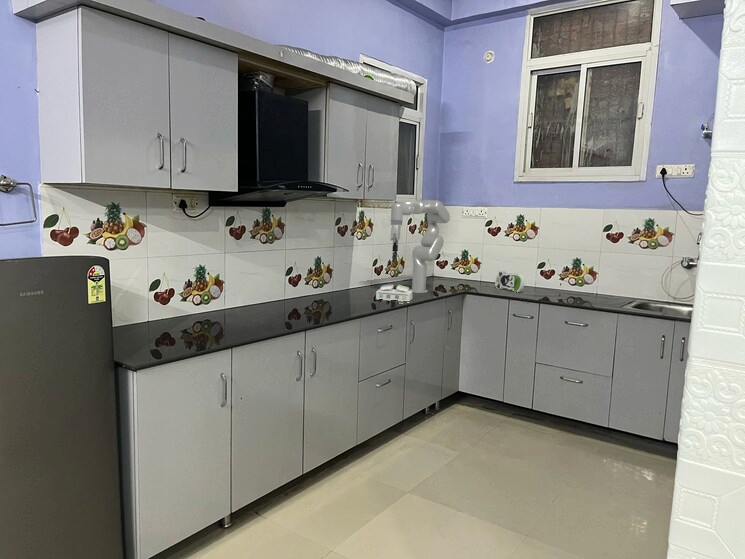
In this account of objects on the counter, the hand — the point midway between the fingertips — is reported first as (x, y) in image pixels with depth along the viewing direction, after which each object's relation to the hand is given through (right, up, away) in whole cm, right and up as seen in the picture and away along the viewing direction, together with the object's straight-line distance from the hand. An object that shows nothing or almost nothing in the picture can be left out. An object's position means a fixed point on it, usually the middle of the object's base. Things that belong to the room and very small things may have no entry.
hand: (395, 251), depth 359 cm
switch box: (-1, -31, -8) cm, 32 cm away
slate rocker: (-5, -23, -8) cm, 25 cm away
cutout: (+85, -27, +47) cm, 101 cm away
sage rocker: (+4, -24, -10) cm, 26 cm away
